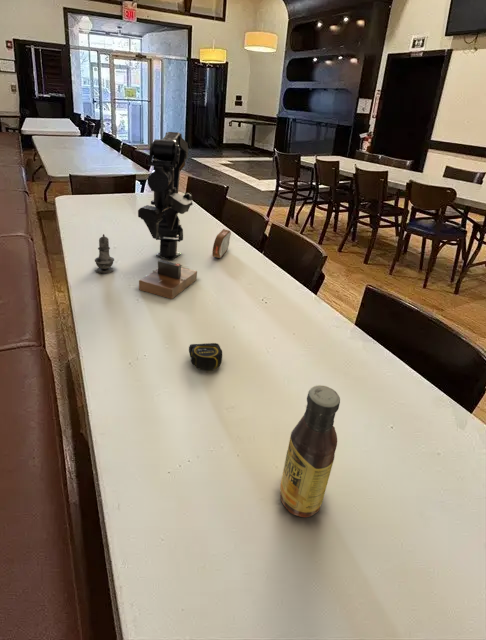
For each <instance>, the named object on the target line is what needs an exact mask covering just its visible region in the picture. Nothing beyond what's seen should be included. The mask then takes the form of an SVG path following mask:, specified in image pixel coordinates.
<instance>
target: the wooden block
mask: <svg viewBox="0 0 486 640" xmlns="http://www.w3.org/2000/svg"><path fill="white" fill-rule="evenodd" d="M197 278H198V271H197V270H194V269H190V268H187V267H183V266H181V277H180V278H179V279H176V278H173V277H169V276H165V275H161V274H158V268H156V269H155V270H152V272H150V273H149V274H146V275H145V276H143V277H142V278H141V279H139V280H138V290H139V291H142V292H146V293H149V294H153V295H157V296H159V297H163V298H167V299H171V300H173V299H174V298H176V297H177V296H178V295H179V294H181V293H182V292H183V291H184V290H185V289H187V288H189V286H191V285H192V284H193V283H194V282H196V281H197Z"/></svg>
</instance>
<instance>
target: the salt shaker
mask: <svg viewBox="0 0 486 640" xmlns="http://www.w3.org/2000/svg"><path fill="white" fill-rule="evenodd" d="M109 242H110V241H109V238H108V237H107V236H105V234H104V233H103V234H102V236H101V237H99V240H98V244H99V245H98V247H97V250H98V256H97V257H95V259H94V263H95V265H96V266H97V268H96V269H95V272H96V273H98V274H102V275H106V274H111V273H113V272H114V268H113V267H112V266H113V264H114V261H115V258H114V257H112V256H111V255H110V249H111V247H110V243H109Z"/></svg>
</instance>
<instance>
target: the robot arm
mask: <svg viewBox="0 0 486 640" xmlns="http://www.w3.org/2000/svg"><path fill="white" fill-rule="evenodd" d="M188 146H189V143H188V142H187V141H186V140H185V139H184V138H183V135H182V133H180V132H178V131H177V132H176V131H167V132H165V135H164V136H163V138H161V139H158V138H155V139H153V140H152V142H151V143H150V146H149V154H148V162H147V166H150V167H153V170H152V172H150V174H149V175H148V177H147V185H148V187H149V189H150V191H151V192H153V199H152V200H151V201H150V205H149V204H146V205H144V206H141V207H139V209H138V210H137V217H138V218H139V219H141V220H143V223H144V224H145V225H146V227H147V229H148V231H149V233H150V236H151V237H152V239H154V240H156V241H159V252H158V253H156V254H155V256H156V257H159V258H161V259H162V258H163V259H167V260H171V261H172V260H175V259H176V258H178V257H179V256H181V252H178V243H181V242H182V241H183V240H184V228H183V227H182V224H181V220H180V218H179V216H178V215H179V214H180V215H183V214H185V213H188V212H189V210H190V207H191V206H193V205H194V203H193V195H192V194H191V193H189V192H186V193H185V194H181V193H180V194H179V187H180V176H181V171H182V170H183V168H185V166H186V160H188V157H189V147H188Z"/></svg>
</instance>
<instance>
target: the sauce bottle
mask: <svg viewBox="0 0 486 640" xmlns="http://www.w3.org/2000/svg"><path fill="white" fill-rule="evenodd" d="M340 404H341V396H340V395H339V394H338V392H337V391H336V390H334V389H333V388H331V387H329V386H327V385H321V384H320V385H314V386H312V387H310V389H309V390H308V392H307V395H306V408H305V412H304V413H303V415H302V417H301V418H300V420H298V422H297V424H296V425H295V426H294V428H293V429H292V431H291V432H290V436H289V440H288V446H287V450H286V453H285V460H284V466H283V470H282V475H281V480H280V487H279V489H280V492H279V494H280V500H281V503H282V504H283V506H284V507H285V509H286V510H287V511H288V512H289V513H290V514H292V515H293V516H297V517H299V518H300V517H301V518H310V517H312V516H314V515H315V514H316V513H318V512H319V511H320V510H321V506H322V504H323V501H324V497H325V493H326V490H327V487H328V483H329V479H330V476H331V472H332V469H333V464H334V461H335V455H336V450H337V447H338V435H337V434H338V433H337V432H336V428H335V426H334V423H335V418H336V413H337V412H338V411H339V408H340Z"/></svg>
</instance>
